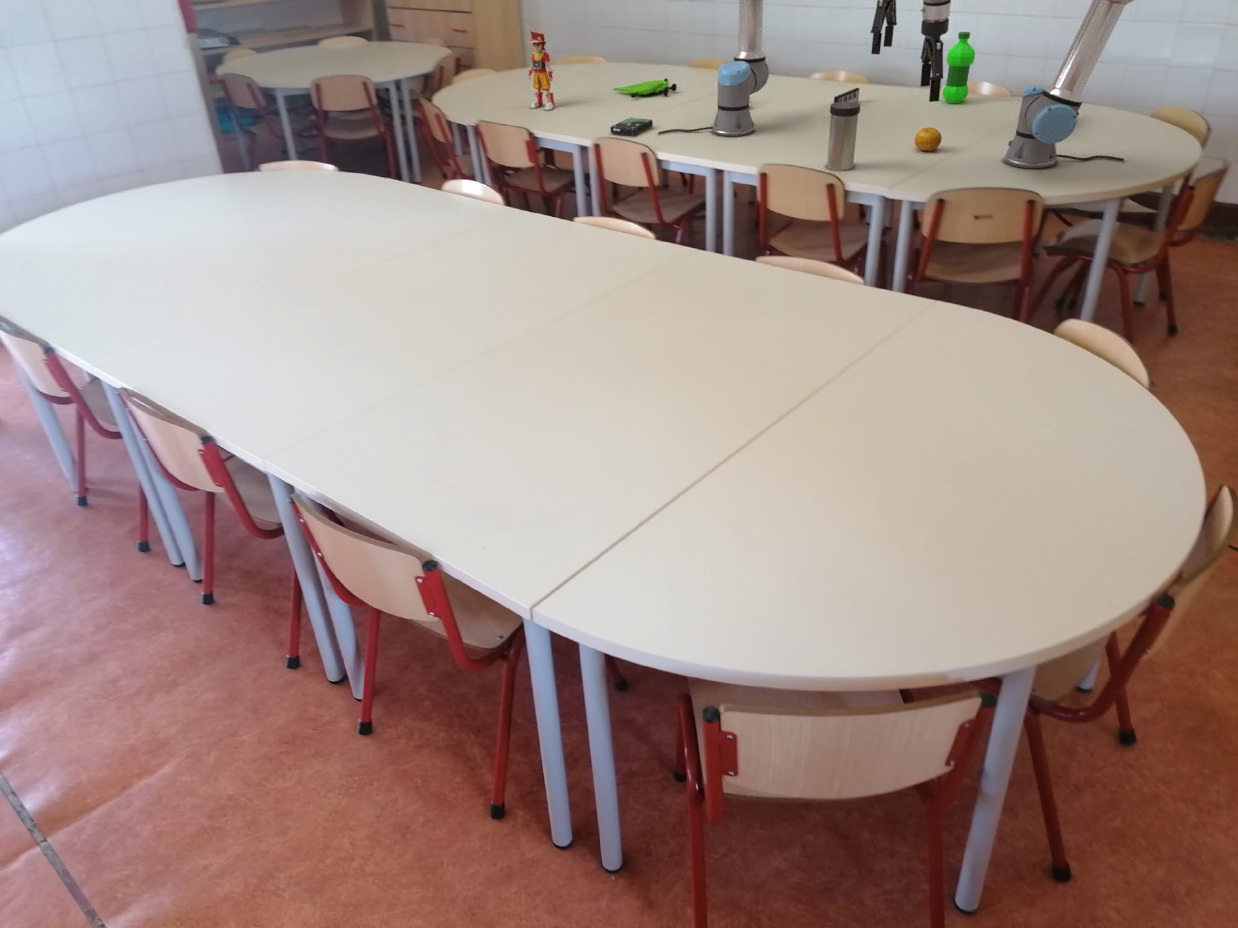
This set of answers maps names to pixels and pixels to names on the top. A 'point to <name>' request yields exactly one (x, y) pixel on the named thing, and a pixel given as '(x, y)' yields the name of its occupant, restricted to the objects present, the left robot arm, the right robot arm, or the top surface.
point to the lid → (845, 108)
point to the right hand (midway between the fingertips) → (929, 93)
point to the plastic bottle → (958, 69)
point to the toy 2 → (648, 88)
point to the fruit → (928, 139)
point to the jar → (842, 142)
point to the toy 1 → (541, 71)
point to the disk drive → (631, 126)
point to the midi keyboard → (848, 96)
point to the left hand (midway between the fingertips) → (881, 50)
